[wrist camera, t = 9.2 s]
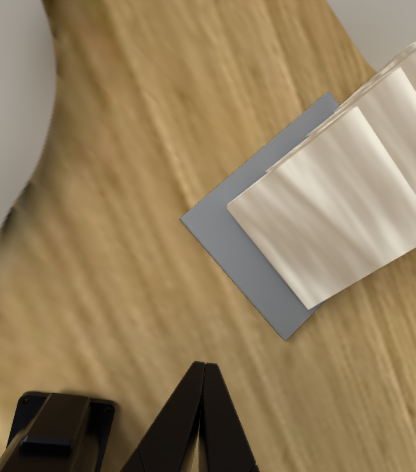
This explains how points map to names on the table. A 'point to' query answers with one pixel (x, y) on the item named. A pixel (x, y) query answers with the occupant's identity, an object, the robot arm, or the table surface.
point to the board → (237, 240)
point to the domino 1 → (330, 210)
